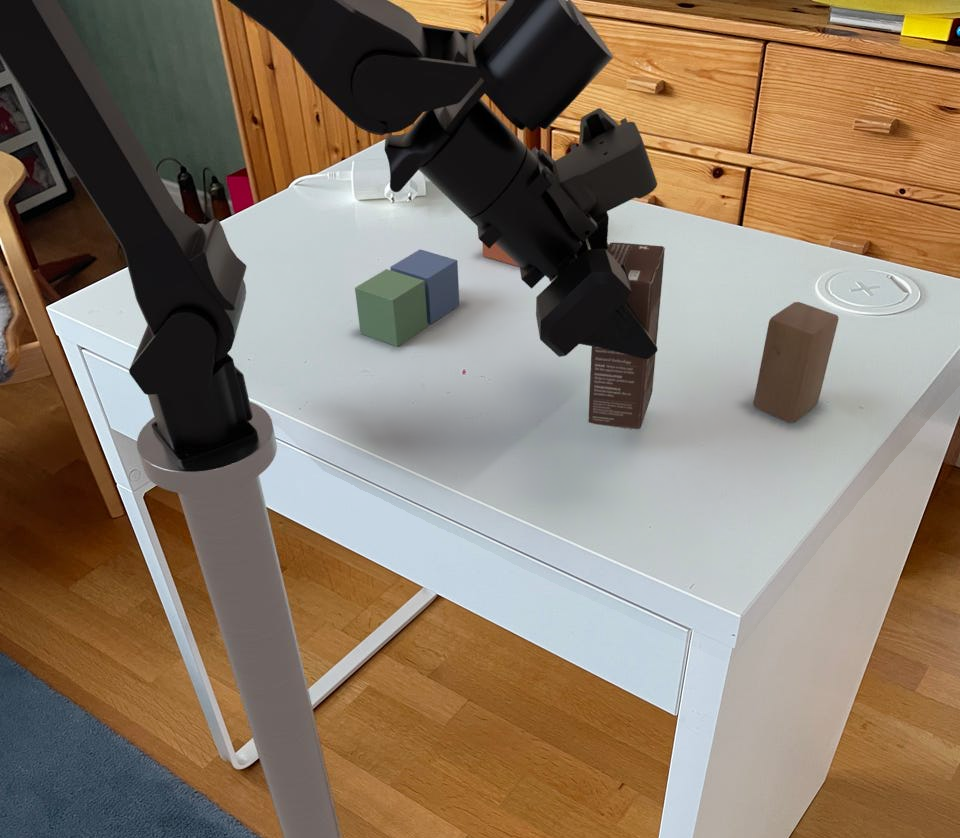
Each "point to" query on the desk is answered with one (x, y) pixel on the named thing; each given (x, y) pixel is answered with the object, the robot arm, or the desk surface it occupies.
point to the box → (621, 377)
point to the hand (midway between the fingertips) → (644, 330)
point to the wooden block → (794, 361)
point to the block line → (412, 295)
